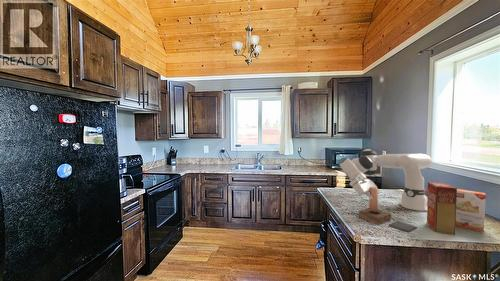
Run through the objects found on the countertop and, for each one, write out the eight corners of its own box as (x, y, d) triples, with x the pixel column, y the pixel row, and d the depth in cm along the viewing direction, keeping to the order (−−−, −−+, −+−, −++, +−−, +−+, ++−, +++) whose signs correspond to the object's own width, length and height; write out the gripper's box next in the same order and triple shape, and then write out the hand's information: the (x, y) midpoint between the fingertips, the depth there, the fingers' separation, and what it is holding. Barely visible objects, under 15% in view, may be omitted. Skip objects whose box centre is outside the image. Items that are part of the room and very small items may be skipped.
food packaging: (425, 222, 132) (427, 181, 131) (445, 225, 129) (446, 183, 128) (434, 232, 120) (436, 186, 119) (456, 235, 117) (458, 188, 116)
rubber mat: (397, 222, 133) (397, 220, 133) (416, 228, 125) (416, 226, 125) (388, 225, 128) (389, 224, 128) (408, 232, 119) (408, 230, 119)
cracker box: (449, 224, 130) (451, 189, 129) (450, 221, 134) (451, 187, 133) (484, 232, 120) (486, 194, 119) (483, 229, 124) (485, 192, 123)
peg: (371, 208, 141) (372, 186, 141) (378, 210, 137) (379, 188, 137) (367, 209, 139) (368, 187, 138) (374, 212, 135) (375, 189, 134)
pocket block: (369, 213, 147) (370, 207, 147) (390, 220, 136) (391, 213, 136) (358, 217, 140) (358, 211, 140) (379, 224, 129) (379, 218, 129)
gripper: (363, 180, 153) (377, 197, 145) (348, 184, 140) (363, 203, 133) (369, 175, 149) (385, 192, 142) (355, 178, 137) (371, 198, 129)
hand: (374, 197), depth 137 cm, fingers closed on peg, 4 cm apart
